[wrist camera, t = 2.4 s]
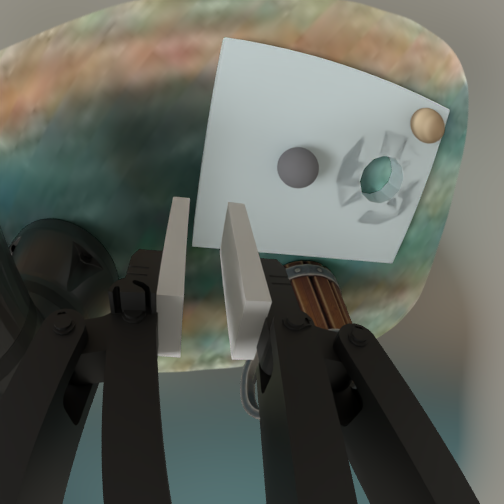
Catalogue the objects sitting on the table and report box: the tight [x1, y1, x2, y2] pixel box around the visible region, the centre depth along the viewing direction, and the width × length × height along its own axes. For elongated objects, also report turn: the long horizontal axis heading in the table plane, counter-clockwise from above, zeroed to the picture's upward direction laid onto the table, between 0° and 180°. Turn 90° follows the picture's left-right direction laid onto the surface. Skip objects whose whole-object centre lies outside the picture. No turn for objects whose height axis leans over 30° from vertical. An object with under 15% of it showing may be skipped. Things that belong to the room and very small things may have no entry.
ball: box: [277, 147, 319, 188], centre depth 26 cm, size 4×4×4 cm
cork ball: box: [410, 108, 445, 144], centre depth 25 cm, size 4×4×4 cm
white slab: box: [192, 37, 450, 263], centre depth 30 cm, size 24×20×2 cm
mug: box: [240, 261, 352, 420], centre depth 35 cm, size 16×11×15 cm
